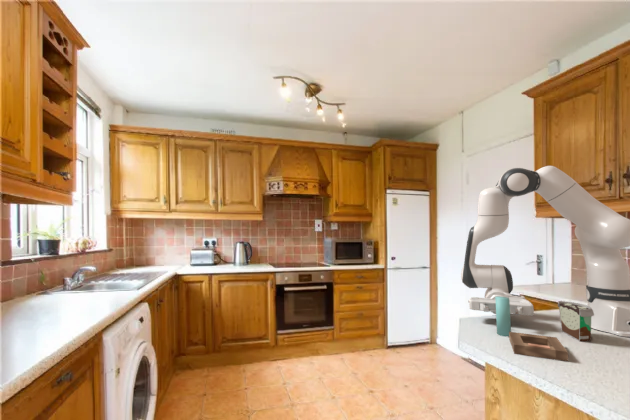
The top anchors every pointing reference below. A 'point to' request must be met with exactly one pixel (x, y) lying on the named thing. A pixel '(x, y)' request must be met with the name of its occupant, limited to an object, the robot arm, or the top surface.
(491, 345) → the top surface
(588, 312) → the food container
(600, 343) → the top surface
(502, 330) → the teal peg
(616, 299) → the robot arm
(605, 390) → the top surface
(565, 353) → the hole plate
